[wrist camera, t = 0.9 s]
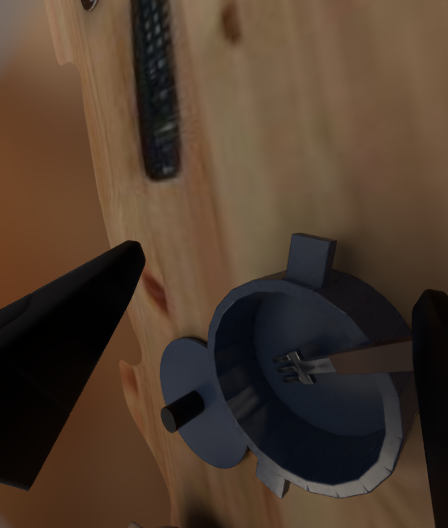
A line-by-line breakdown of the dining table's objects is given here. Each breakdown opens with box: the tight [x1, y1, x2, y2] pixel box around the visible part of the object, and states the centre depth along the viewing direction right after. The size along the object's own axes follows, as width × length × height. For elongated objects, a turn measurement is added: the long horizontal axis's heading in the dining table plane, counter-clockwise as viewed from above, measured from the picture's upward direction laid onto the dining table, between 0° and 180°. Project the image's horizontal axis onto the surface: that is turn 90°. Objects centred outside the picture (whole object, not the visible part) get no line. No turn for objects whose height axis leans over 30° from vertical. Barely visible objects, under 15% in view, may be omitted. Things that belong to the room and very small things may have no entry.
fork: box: [272, 335, 413, 384], centre depth 17 cm, size 15×2×8 cm, turn 129°
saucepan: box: [207, 233, 419, 499], centre depth 20 cm, size 14×19×6 cm
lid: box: [160, 337, 248, 468], centre depth 32 cm, size 15×15×5 cm
